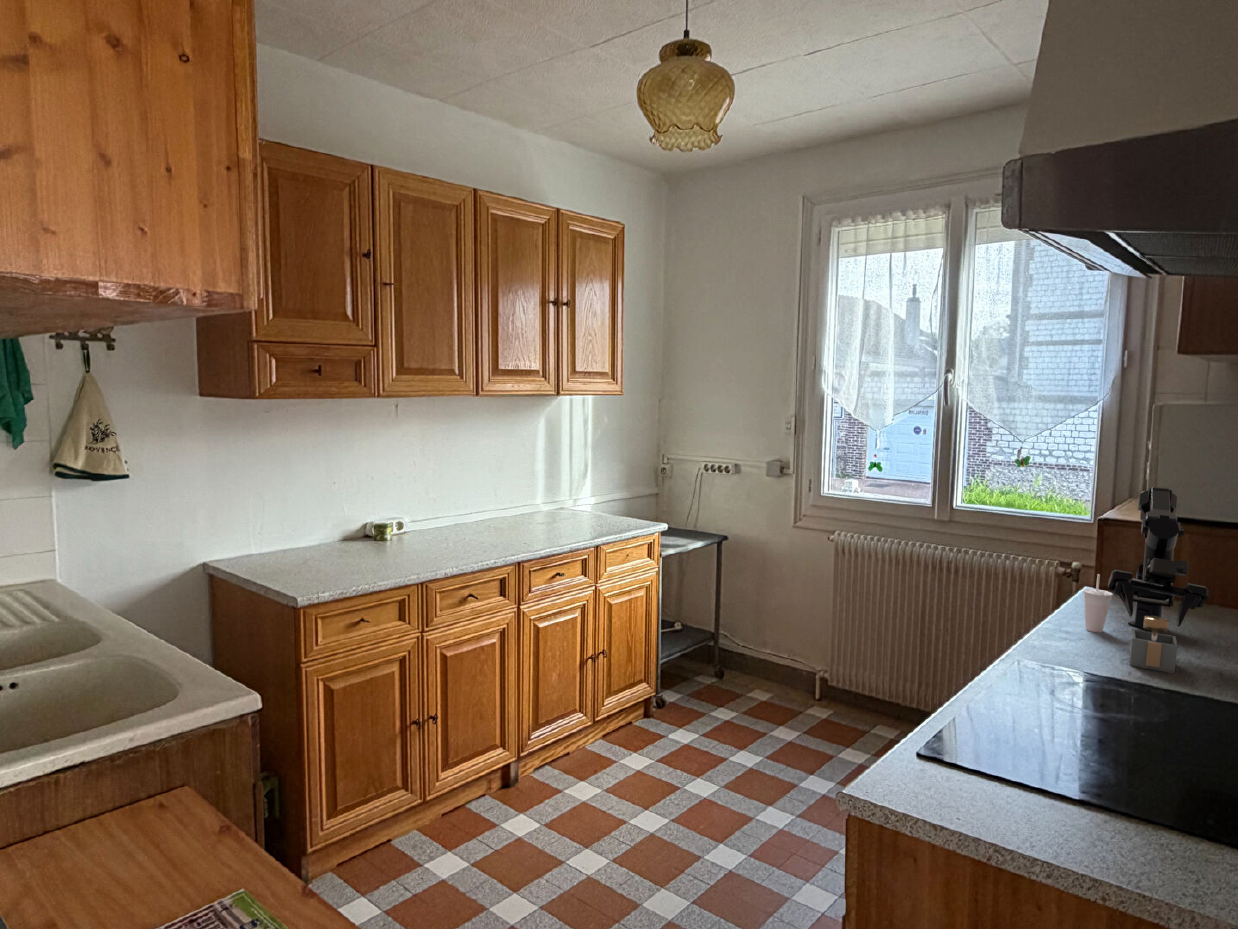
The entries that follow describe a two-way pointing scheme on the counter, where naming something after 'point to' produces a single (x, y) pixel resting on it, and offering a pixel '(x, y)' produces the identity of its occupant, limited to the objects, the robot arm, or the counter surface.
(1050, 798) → the counter surface
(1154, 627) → the plunger
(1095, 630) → the smoothie
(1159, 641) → the grey open box
